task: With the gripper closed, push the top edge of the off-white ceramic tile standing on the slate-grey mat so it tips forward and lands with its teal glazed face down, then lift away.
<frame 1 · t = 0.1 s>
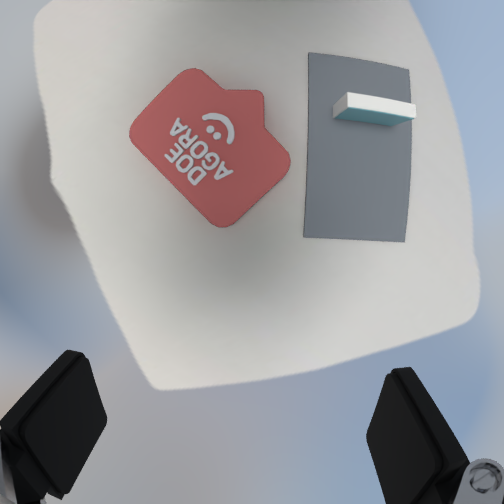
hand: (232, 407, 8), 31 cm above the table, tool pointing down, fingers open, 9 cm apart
tile: (363, 115, 34), resting on tile mat
tile mat: (361, 146, 35), on the table
plaque: (218, 139, 37), on the table
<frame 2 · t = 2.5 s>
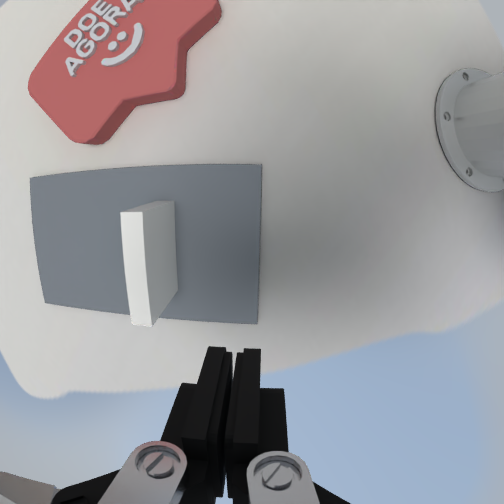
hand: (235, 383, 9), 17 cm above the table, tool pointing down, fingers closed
tile: (167, 246, 26), resting on tile mat
tile mat: (128, 244, 27), on the table
plaque: (132, 55, 23), on the table
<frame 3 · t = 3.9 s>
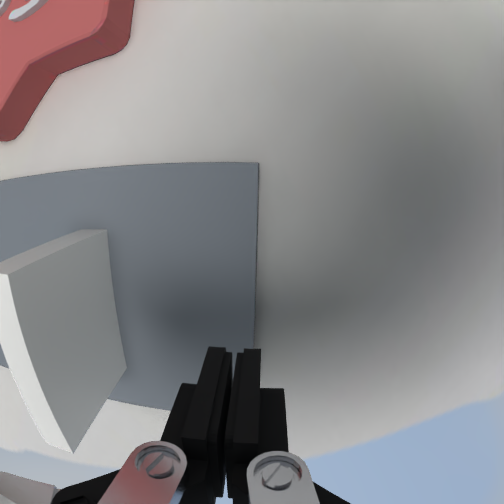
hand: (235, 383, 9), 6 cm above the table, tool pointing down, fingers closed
tile: (102, 304, 15), resting on tile mat
tile mat: (52, 293, 15), on the table
plaque: (63, 8, 11), on the table
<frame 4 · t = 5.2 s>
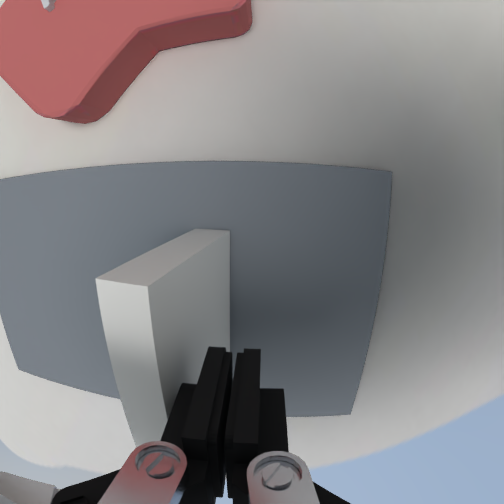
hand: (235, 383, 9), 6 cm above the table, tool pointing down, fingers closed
tile: (213, 312, 14), point 1 cm above the table, tilted 9°, touching tile mat
tile mat: (141, 301, 15), on the table
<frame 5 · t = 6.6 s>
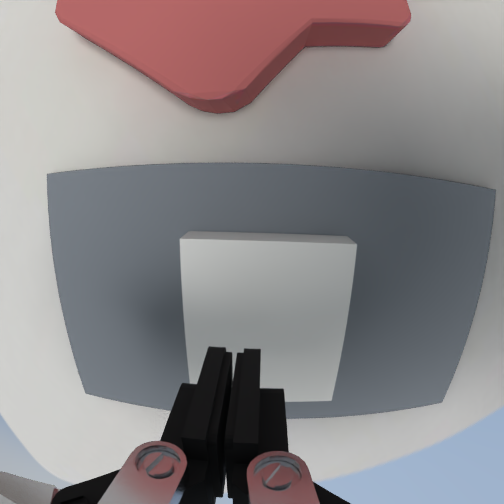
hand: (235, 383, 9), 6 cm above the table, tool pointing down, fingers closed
tile: (341, 325, 13), point 1 cm above the table, tilted 90°, touching tile mat
tile mat: (273, 311, 15), on the table
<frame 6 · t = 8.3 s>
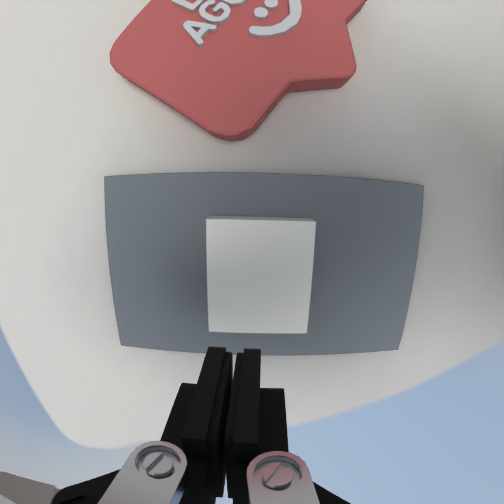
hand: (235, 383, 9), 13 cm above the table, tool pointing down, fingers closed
tile: (309, 277, 21), point 1 cm above the table, tilted 90°, touching tile mat
tile mat: (264, 270, 23), on the table
plaque: (260, 32, 19), on the table
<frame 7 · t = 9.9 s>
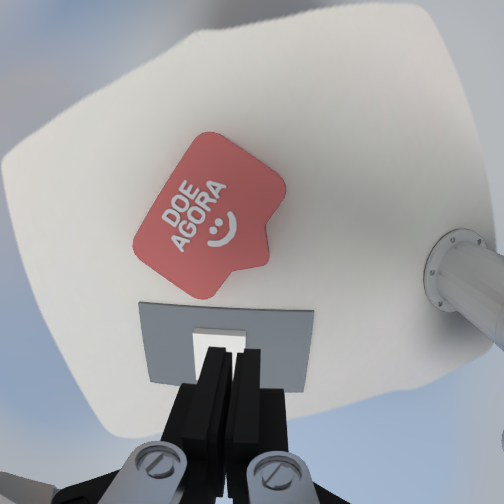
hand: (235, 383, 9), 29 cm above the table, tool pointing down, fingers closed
tile: (245, 358, 41), point 1 cm above the table, tilted 90°, touching tile mat
tile mat: (224, 351, 42), on the table
plaque: (218, 221, 38), on the table
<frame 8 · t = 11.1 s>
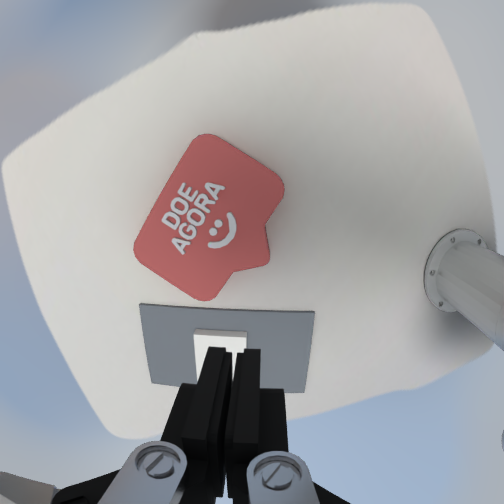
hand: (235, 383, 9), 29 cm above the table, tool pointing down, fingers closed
tile: (246, 359, 41), point 1 cm above the table, tilted 90°, touching tile mat
tile mat: (225, 352, 42), on the table
plaque: (218, 222, 38), on the table
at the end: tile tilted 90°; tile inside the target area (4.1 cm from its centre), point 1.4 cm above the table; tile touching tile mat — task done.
